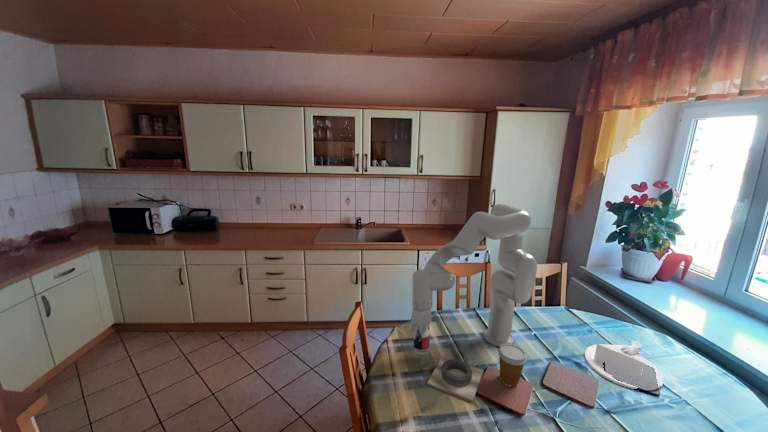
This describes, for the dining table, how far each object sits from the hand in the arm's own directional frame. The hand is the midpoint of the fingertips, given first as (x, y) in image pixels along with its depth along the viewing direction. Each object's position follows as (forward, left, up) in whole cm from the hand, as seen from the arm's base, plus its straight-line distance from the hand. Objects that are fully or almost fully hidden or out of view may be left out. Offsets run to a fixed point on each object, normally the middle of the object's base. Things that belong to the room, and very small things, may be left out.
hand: (421, 343), depth 126 cm
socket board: (+4, +15, -7) cm, 17 cm away
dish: (-35, +69, -7) cm, 78 cm away
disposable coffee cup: (-5, +32, -7) cm, 34 cm away
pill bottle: (0, 0, -3) cm, 3 cm away
